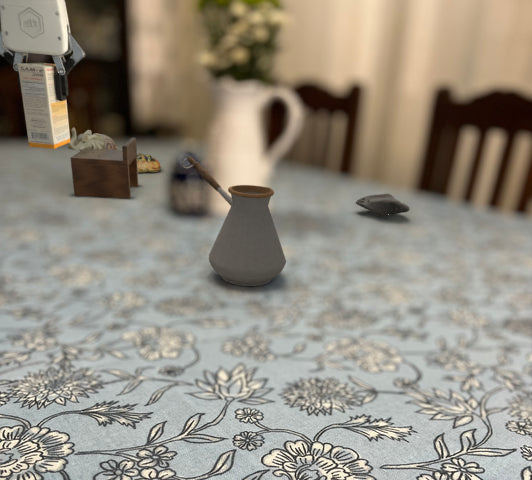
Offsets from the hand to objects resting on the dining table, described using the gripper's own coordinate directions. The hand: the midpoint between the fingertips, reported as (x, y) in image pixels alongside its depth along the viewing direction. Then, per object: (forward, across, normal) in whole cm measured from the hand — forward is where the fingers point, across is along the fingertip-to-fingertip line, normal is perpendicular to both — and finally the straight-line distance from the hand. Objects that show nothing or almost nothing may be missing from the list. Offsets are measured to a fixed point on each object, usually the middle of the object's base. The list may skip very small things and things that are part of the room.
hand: (44, 97), depth 91 cm
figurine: (+21, 0, +35) cm, 41 cm away
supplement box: (+8, 0, 0) cm, 8 cm away
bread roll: (+21, +9, +50) cm, 55 cm away
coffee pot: (+20, +33, -27) cm, 47 cm away
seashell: (+20, +68, +11) cm, 72 cm away
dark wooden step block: (+21, +6, +22) cm, 31 cm away
